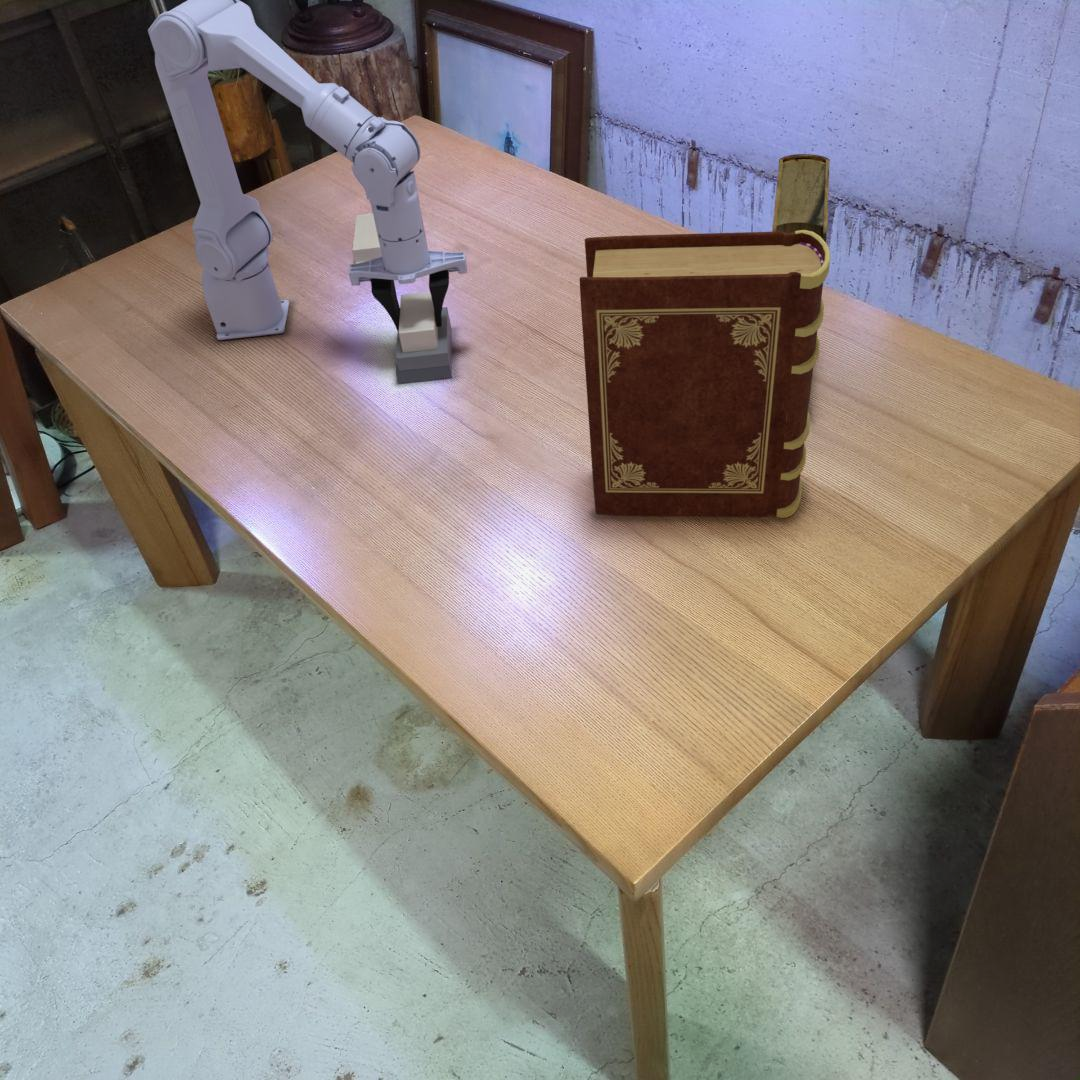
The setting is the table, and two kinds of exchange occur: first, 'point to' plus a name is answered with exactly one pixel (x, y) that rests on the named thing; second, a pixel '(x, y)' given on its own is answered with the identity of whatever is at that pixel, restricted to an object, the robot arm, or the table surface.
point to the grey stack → (427, 357)
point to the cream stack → (365, 239)
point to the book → (802, 194)
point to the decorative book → (701, 370)
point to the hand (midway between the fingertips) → (419, 324)
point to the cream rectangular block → (417, 323)
